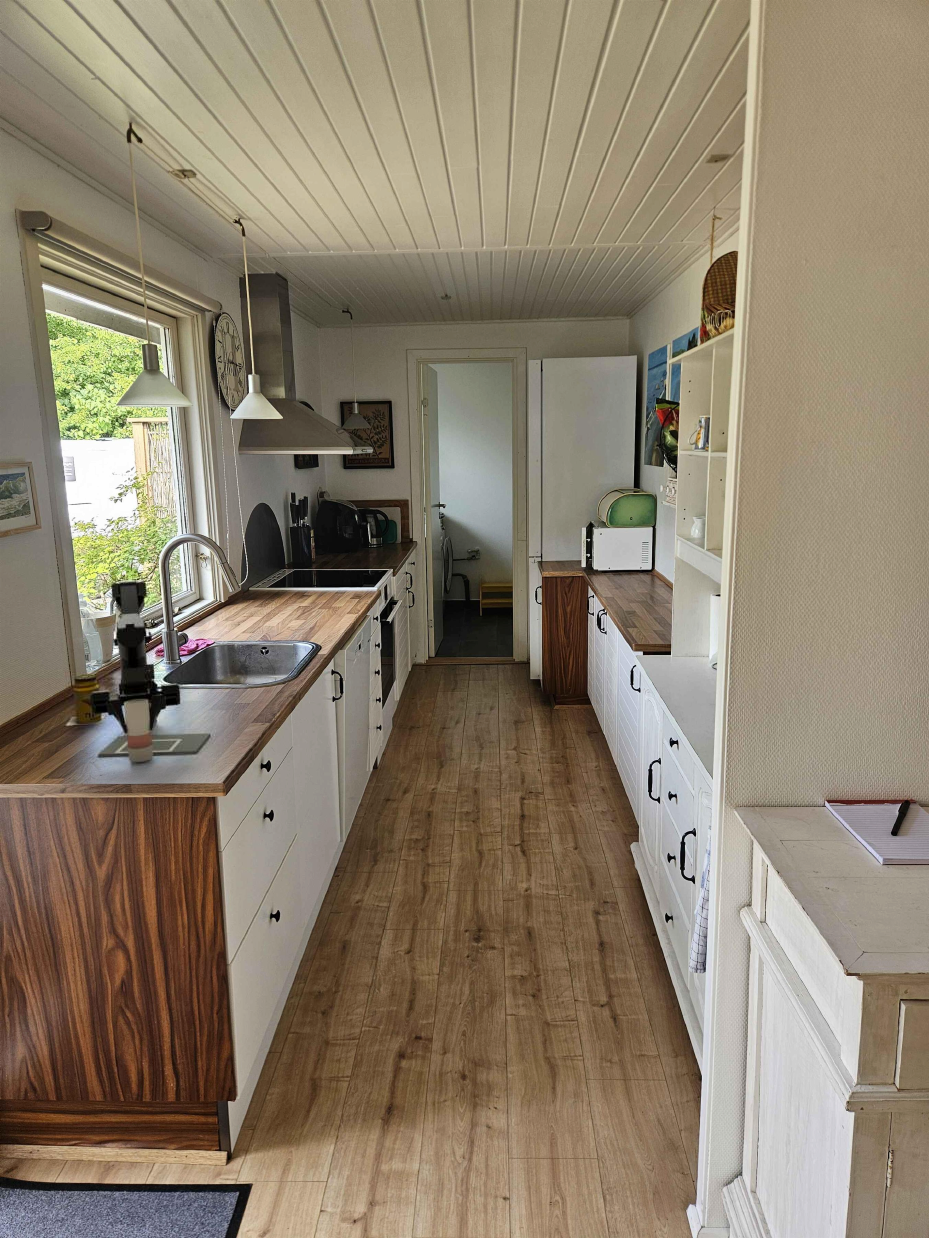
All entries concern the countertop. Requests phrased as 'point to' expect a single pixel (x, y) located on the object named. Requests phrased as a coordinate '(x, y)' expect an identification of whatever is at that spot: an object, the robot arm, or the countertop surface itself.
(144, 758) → the player figure
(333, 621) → the countertop surface
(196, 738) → the mat
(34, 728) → the countertop surface
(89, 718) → the condiment
